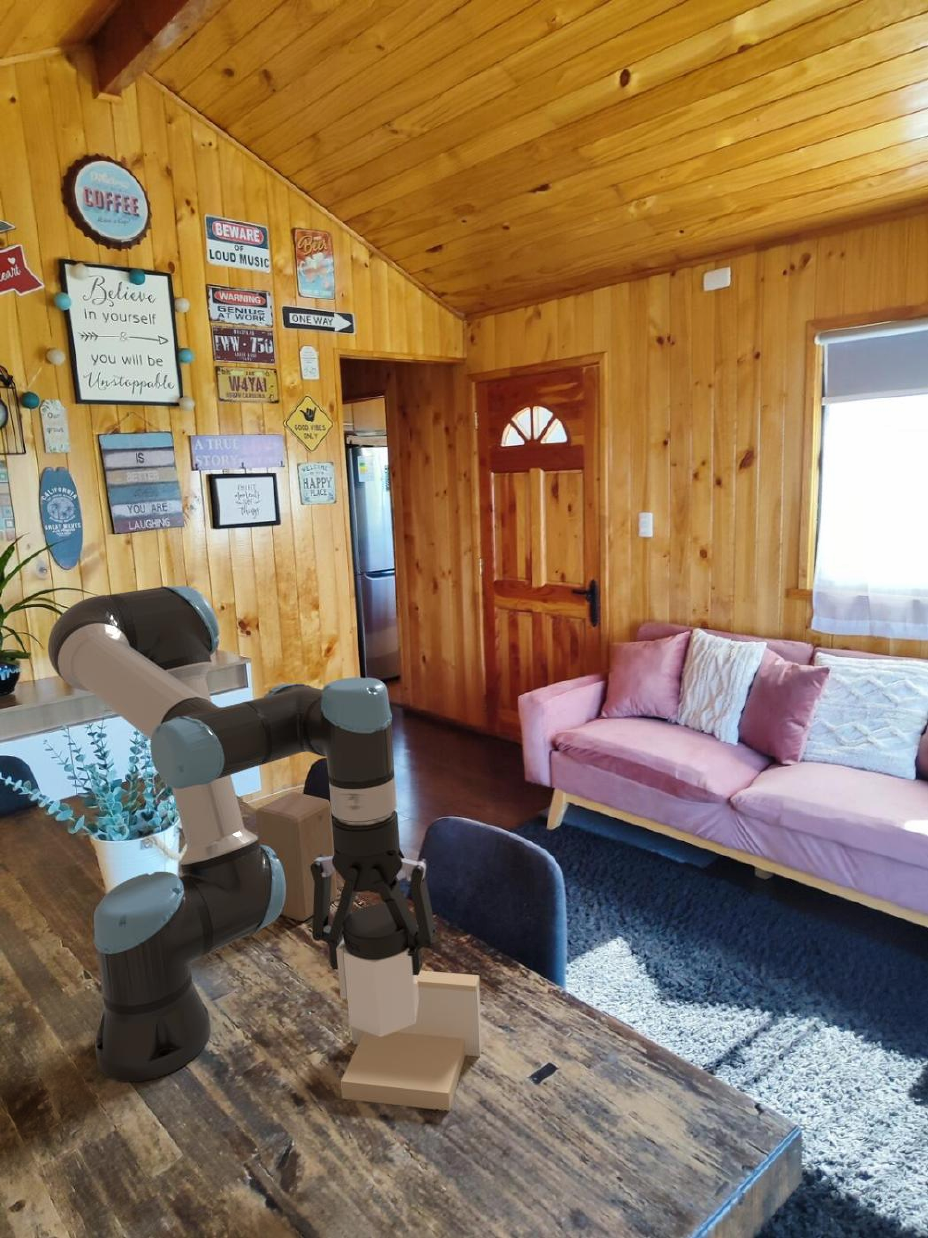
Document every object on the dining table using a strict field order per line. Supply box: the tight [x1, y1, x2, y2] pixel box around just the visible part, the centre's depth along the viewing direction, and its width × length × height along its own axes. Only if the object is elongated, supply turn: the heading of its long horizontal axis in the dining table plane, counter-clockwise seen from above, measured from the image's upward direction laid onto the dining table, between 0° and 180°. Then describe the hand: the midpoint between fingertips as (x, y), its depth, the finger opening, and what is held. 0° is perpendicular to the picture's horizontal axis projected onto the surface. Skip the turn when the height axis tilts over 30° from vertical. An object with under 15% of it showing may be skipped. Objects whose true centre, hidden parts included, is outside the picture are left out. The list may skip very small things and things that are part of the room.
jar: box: [342, 903, 419, 1037], centre depth 97 cm, size 9×8×12 cm
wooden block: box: [255, 791, 338, 922], centre depth 151 cm, size 10×10×20 cm
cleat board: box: [340, 970, 483, 1112], centre depth 108 cm, size 18×12×11 cm, turn 79°
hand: (378, 994), depth 98 cm, fingers closed on jar, 7 cm apart
